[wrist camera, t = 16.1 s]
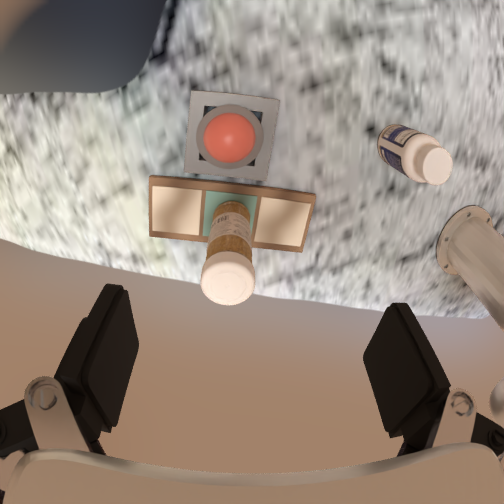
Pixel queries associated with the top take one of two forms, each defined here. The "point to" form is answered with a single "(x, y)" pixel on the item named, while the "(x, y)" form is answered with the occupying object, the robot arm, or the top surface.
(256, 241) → the board
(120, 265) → the top surface
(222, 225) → the sprinkles bottle
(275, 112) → the button housing
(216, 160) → the dome button
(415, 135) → the pill bottle
